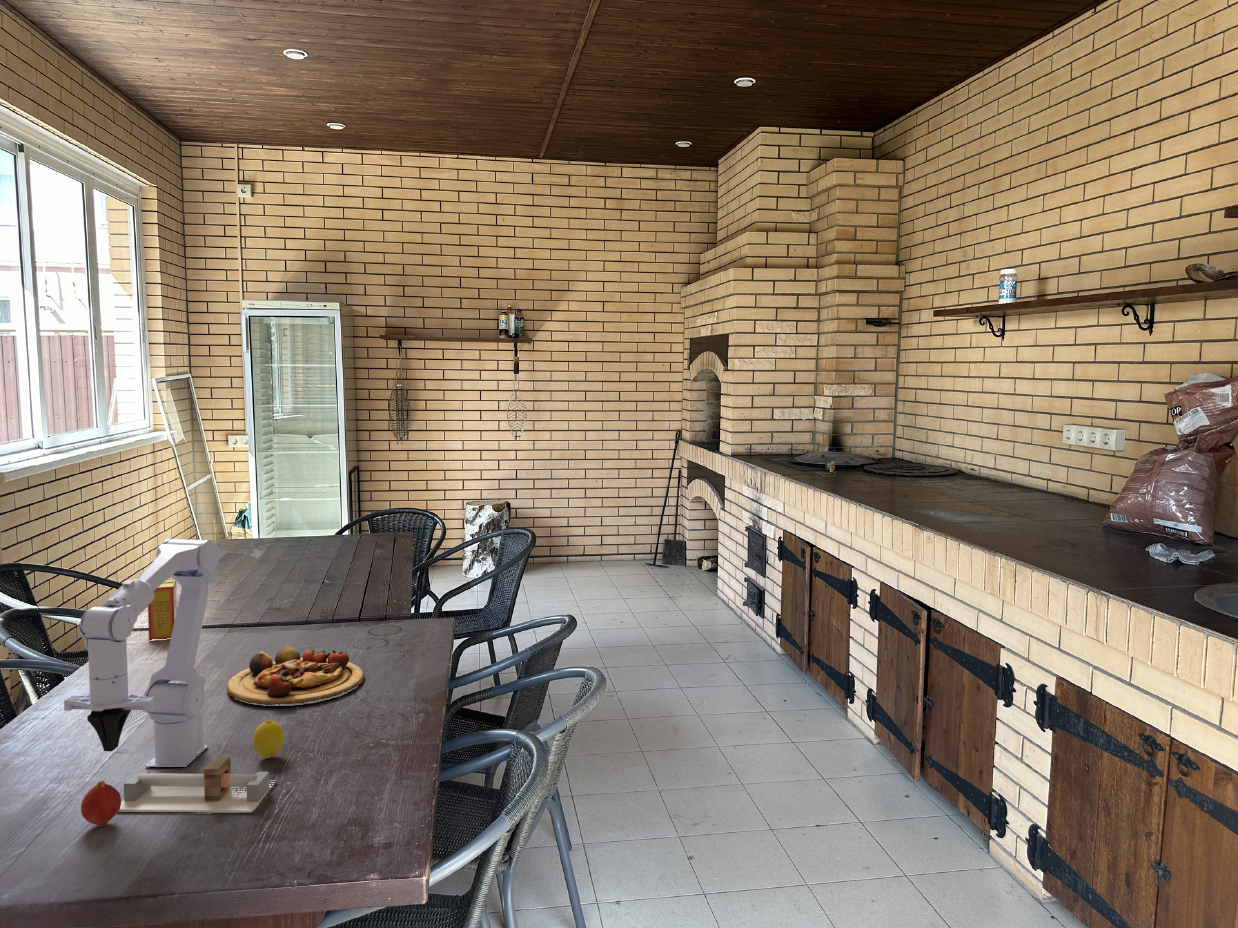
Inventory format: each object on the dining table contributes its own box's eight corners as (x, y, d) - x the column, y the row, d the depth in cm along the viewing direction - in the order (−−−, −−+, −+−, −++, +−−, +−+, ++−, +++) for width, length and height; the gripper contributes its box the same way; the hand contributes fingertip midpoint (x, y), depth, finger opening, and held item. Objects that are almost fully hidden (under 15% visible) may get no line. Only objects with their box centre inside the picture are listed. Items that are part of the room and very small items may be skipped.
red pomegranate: (76, 826, 139) (74, 781, 138) (113, 812, 144) (111, 768, 143) (89, 838, 136) (87, 792, 135) (127, 824, 140) (126, 779, 139)
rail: (113, 812, 144) (112, 787, 143) (147, 782, 155) (146, 758, 154) (252, 813, 145) (251, 788, 144) (276, 783, 156) (276, 760, 155)
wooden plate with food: (318, 716, 188) (318, 681, 187) (196, 700, 194) (196, 666, 194) (386, 672, 219) (386, 642, 218) (279, 660, 225) (279, 630, 225)
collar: (204, 800, 147) (203, 768, 147) (217, 786, 152) (217, 755, 152) (218, 800, 147) (217, 769, 147) (231, 786, 152) (230, 755, 152)
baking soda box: (174, 639, 239) (173, 585, 237) (149, 641, 236) (147, 587, 234) (177, 630, 247) (175, 578, 246) (152, 632, 245) (150, 579, 243)
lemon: (287, 752, 169) (287, 714, 168) (277, 764, 163) (277, 725, 162) (260, 751, 169) (259, 714, 168) (249, 764, 163) (248, 725, 162)
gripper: (51, 681, 140) (54, 758, 141) (138, 682, 140) (140, 759, 142) (77, 667, 147) (80, 740, 148) (159, 668, 147) (161, 741, 149)
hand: (111, 748), depth 145 cm, fingers closed
